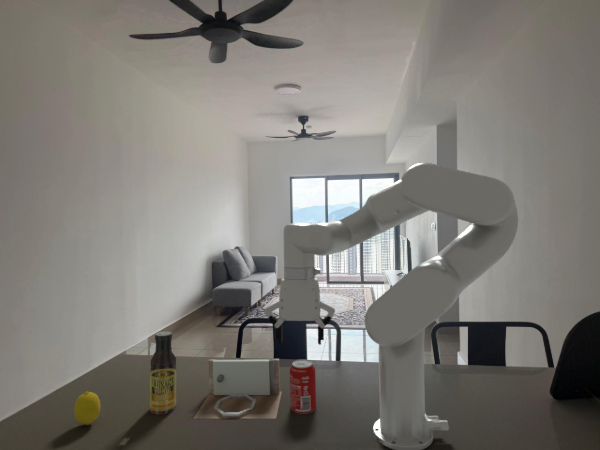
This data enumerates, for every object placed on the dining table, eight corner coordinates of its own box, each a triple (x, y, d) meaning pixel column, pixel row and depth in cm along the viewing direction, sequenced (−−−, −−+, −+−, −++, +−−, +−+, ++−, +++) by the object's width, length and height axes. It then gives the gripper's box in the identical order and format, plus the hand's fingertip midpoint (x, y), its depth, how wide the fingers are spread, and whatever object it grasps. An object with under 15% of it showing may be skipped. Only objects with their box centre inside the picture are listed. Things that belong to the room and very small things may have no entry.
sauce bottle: (148, 420, 94) (145, 338, 93) (151, 408, 100) (148, 331, 99) (177, 416, 96) (174, 335, 95) (178, 404, 102) (175, 328, 101)
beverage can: (317, 405, 99) (315, 358, 99) (315, 418, 93) (314, 368, 93) (292, 404, 100) (291, 358, 100) (289, 417, 94) (287, 367, 93)
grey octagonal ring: (258, 397, 102) (257, 394, 102) (251, 417, 92) (251, 413, 92) (221, 398, 102) (220, 395, 102) (210, 417, 93) (210, 413, 93)
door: (274, 392, 104) (274, 359, 104) (273, 397, 102) (272, 362, 101) (215, 393, 105) (213, 359, 105) (212, 397, 102) (211, 363, 102)
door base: (281, 395, 105) (280, 358, 105) (276, 422, 91) (274, 380, 91) (210, 395, 106) (209, 359, 106) (193, 422, 92) (192, 380, 92)
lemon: (95, 416, 97) (93, 384, 96) (105, 423, 93) (103, 390, 93) (70, 426, 92) (69, 392, 92) (80, 434, 89) (79, 399, 89)
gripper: (334, 271, 99) (334, 338, 100) (266, 271, 100) (267, 337, 100) (335, 276, 92) (335, 348, 92) (262, 276, 92) (263, 347, 93)
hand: (300, 342), depth 96 cm, fingers open, 9 cm apart
